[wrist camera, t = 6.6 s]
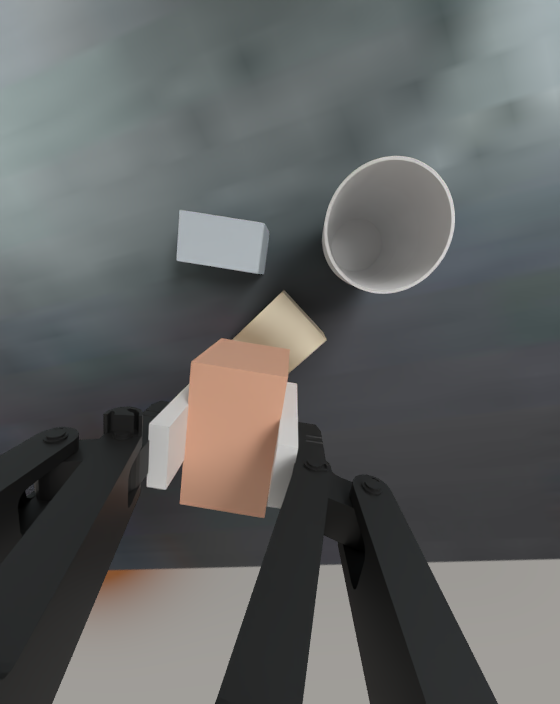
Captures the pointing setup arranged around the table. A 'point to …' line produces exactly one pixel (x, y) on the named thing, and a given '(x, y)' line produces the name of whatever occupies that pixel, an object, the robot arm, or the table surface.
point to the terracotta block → (233, 426)
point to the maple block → (284, 329)
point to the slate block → (222, 242)
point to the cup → (388, 225)
